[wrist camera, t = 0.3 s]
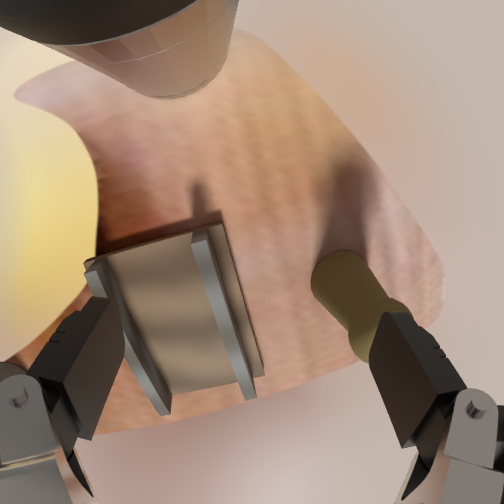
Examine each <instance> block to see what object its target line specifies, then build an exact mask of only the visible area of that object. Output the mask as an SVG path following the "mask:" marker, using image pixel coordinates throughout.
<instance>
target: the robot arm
mask: <svg viewBox="0 0 504 504" xmlns="http://www.w3.org/2000/svg"><path fill="white" fill-rule="evenodd" d="M238 2H239V0H0V27H2V28H4V29H7V30H9V31H12V32H14V33H16V34H19V35H21V36H23V37H26V38H28V39H30V40H33V41H36V42H38V43H40V44H43V45H45V46H47V47H49V48H52V49H54V50H56V51H58V52H60V53H62V54H64V55H66V56H69V57H71V58H73V59H75V60H77V61H80V62H82V63H84V64H86V65H88V66H90V67H92V68H93V69H95V70H97V71H99V72H101V73H103V74H105V75H107V76H109V77H111V78H113V79H115V80H117V81H118V82H120V83H122V84H124V85H126V86H127V87H129V88H131V89H133V90H135V91H137V92H139V93H141V94H143V95H146V96H148V97H152V98H157V99H174V98H179V97H184V96H187V95H189V94H192V93H194V92H196V91H198V90H199V89H201V88H203V87H204V86H206V85H207V84H208V83H209V82H210V81H211V80H212V79H214V77H215V76H216V75H217V73H218V72H219V71H220V69H221V68H222V66H223V63H224V61H225V59H226V55H227V51H228V46H229V43H230V38H231V34H232V29H233V24H234V20H235V15H236V11H237V6H238ZM124 354H125V338H124V333H123V327H122V322H121V317H120V311H119V305H118V302H117V300H116V299H113V298H104V297H94V296H93V297H91V298H90V299H89V300H88V302H87V303H86V304H85V306H84V307H83V309H82V310H81V311H75V312H73V313H72V314H71V315H69V316H68V317H66V318H65V319H63V321H62V322H61V323H60V325H59V326H58V328H57V329H56V332H55V333H53V335H52V336H51V337H50V339H49V342H47V343H46V345H45V346H44V347H43V349H42V350H41V352H40V353H39V355H38V356H37V358H36V359H35V361H34V362H33V364H32V365H31V367H30V368H29V370H28V371H27V373H26V374H25V375H14V376H11V377H9V378H6V379H5V380H3V381H2V382H1V383H0V504H100V502H99V500H98V498H97V497H96V495H95V492H94V490H93V488H92V486H91V484H90V482H89V480H88V477H87V475H86V473H85V471H84V468H83V466H82V464H81V461H80V459H79V456H78V454H77V451H76V449H75V448H74V445H75V442H76V440H77V437H79V438H83V439H87V440H90V441H91V440H92V437H93V434H94V431H95V429H96V426H97V423H98V421H99V418H100V415H101V413H102V410H103V408H104V405H105V402H106V400H107V397H108V395H109V392H110V390H111V387H112V385H113V382H114V380H115V377H116V375H117V373H118V370H119V368H120V365H121V363H122V361H123V358H124ZM369 367H370V370H371V372H372V375H373V377H374V380H375V382H376V384H377V387H378V389H379V392H380V394H381V397H382V399H383V402H384V404H385V407H386V409H387V412H388V414H389V417H390V419H391V422H392V424H393V427H394V430H395V432H396V435H397V437H398V440H399V443H400V445H401V448H407V447H412V446H416V447H417V449H418V452H417V453H416V454H415V456H414V458H413V460H412V463H411V465H410V468H409V471H408V473H407V476H406V478H405V480H404V483H403V485H402V487H401V490H400V492H399V494H398V496H397V498H396V501H395V503H394V504H504V406H501V405H496V403H495V402H494V400H493V399H492V398H491V397H490V396H489V395H488V394H487V393H485V392H483V391H481V390H478V389H471V388H470V389H468V388H467V387H466V385H465V383H464V382H463V380H462V379H461V377H460V376H459V374H458V373H457V371H456V369H455V368H454V366H453V365H452V363H451V362H450V360H449V359H448V358H446V355H445V353H444V351H443V350H442V349H440V346H439V344H438V343H437V342H436V340H435V338H434V337H433V336H432V335H431V334H430V333H428V332H427V331H426V330H425V329H423V328H422V327H421V326H418V325H417V323H416V322H415V320H414V319H413V318H412V316H411V315H410V313H409V312H407V311H388V312H384V313H383V314H382V316H381V318H380V321H379V324H378V327H377V330H376V333H375V336H374V339H373V342H372V345H371V348H370V351H369Z"/></svg>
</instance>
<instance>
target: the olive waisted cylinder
mask: <svg viewBox="0 0 504 504" xmlns="http://www.w3.org/2000/svg"><path fill="white" fill-rule="evenodd" d="M311 290H312V292H313V295H314V297H315V298H316V299H317V300H318V301H319V302H320V303H321V304H322V305H323V306H324V307H325V308H326V309H327V310H328V311H329V312H330V313H331V314H332V315H333V316H334V317H335V318H336V319H337V320H338V321H339V323H340V324H341V325H342V326H343V327H344V328H345V329H346V330H347V331H348V332H349V334H348V337H349V342H350V345H351V348H352V350H353V352H354V353H355V354H356V355H357V356H358V357H359V358H360V359H361V360H362V361H364V362H366V363H369V351H370V348H371V345H372V342H373V339H374V336H375V333H376V330H377V327H378V324H379V321H380V318H381V316H382V314H383V313H384V312H388V311H407V312H409V313H410V315H411V316H412V313H411V312H410V311H409V309H408V308H407V307H406V306H405V305H404V304H403V303H401V302H399V301H397V300H395V299H393V298H389V297H388V295H387V294H386V292H385V291H384V289H383V288H382V286H381V285H380V283H379V282H378V280H377V279H376V277H375V276H374V274H373V273H372V271H371V270H370V268H369V267H368V266H367V264H366V263H365V261H364V260H363V259H362V258H361V256H360V255H358V254H356V253H355V252H353V251H346V250H342V251H336V252H333V253H331V254H329V255H327V256H326V257H325V258H323V259H322V260H321V261H320V262H319V263H318V265H317V266H316V268H315V269H314V271H313V274H312V278H311ZM412 318H413V316H412ZM413 319H414V318H413Z"/></svg>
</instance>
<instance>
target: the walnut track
mask: <svg viewBox="0 0 504 504" xmlns="http://www.w3.org/2000/svg"><path fill="white" fill-rule="evenodd" d="M83 264H84V266H85V269H86V272H85V273H84V276H85V278H86V280H87V283H88V285H89V287H90V289H91V292H92V294H93V296H94V297H104V298H113V299H116V300H117V302H118V305H119V311H120V317H121V322H122V327H123V333H124V338H125V354H124V357H125V359H126V361H127V363H128V365H129V366H130V368H131V370H132V372H133V373H134V375H135V377H136V378H137V380H138V382H139V383H140V385H141V387H142V388H143V390H144V392H145V393H146V395H147V397H148V398H149V400H150V401H151V403H152V404H153V406H154V408H155V409H156V411H157V412H158V414H159V415H160V416H164V415H170V413H171V402H172V395H174V394H180V393H186V392H191V391H197V390H202V389H207V388H212V387H217V386H221V385H226V384H231V383H235V382H238V383H239V386H240V388H241V391H242V394H243V396H244V399H245V400H250V399H254V398H257V396H256V391H255V385H254V380H253V378H256V377H260V376H264V375H265V373H264V369H263V365H262V362H261V359H260V355H259V352H258V348H257V345H256V341H255V338H254V334H253V331H252V328H251V324H250V321H249V317H248V314H247V310H246V307H245V303H244V299H243V296H242V292H241V289H240V285H239V282H238V278H237V274H236V271H235V267H234V264H233V260H232V256H231V253H230V249H229V245H228V242H227V238H226V234H225V231H224V227H223V223H222V221H220V222H216V223H212V224H209V225H205V226H201V227H197V228H194V229H190V230H186V231H183V232H179V233H175V234H172V235H168V236H165V237H161V238H158V239H154V240H150V241H147V242H143V243H140V244H137V245H133V246H130V247H126V248H123V249H119V250H116V251H113V252H109V253H106V254H103V255H99V256H96V257H93V258H90V259H87V260H86V261H85V262H84V263H83Z"/></svg>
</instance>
